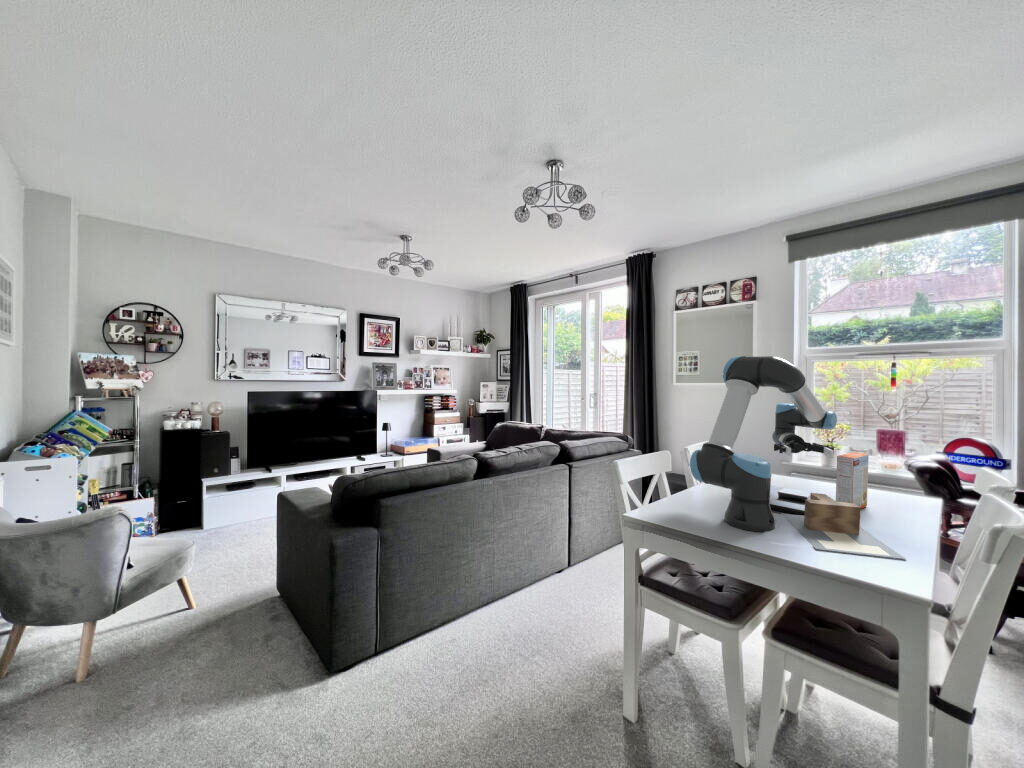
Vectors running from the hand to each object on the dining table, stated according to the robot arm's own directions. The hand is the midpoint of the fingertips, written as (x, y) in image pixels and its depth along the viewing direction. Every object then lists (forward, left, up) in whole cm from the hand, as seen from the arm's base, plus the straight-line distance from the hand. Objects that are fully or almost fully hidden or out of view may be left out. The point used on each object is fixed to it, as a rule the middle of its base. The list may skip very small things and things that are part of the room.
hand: (810, 453), depth 160 cm
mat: (-4, -22, -22) cm, 32 cm away
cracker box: (+20, +8, -23) cm, 31 cm away
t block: (-3, -15, -22) cm, 27 cm away
